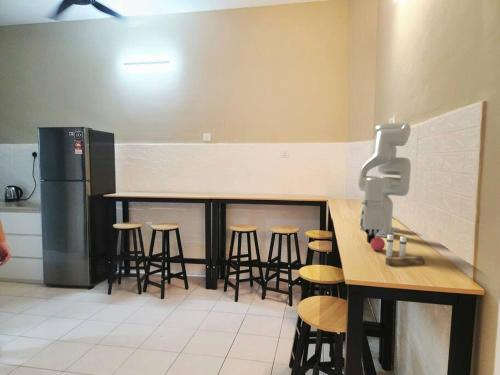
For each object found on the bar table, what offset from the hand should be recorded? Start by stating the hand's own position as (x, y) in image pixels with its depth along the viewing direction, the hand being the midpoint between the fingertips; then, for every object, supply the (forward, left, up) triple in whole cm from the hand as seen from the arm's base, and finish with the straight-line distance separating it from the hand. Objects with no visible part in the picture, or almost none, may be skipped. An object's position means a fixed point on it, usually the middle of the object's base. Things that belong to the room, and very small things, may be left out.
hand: (370, 243), depth 147 cm
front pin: (0, +13, -2) cm, 13 cm away
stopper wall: (0, +23, -2) cm, 23 cm away
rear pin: (-4, +17, -2) cm, 17 cm away
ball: (0, +5, +1) cm, 5 cm away
